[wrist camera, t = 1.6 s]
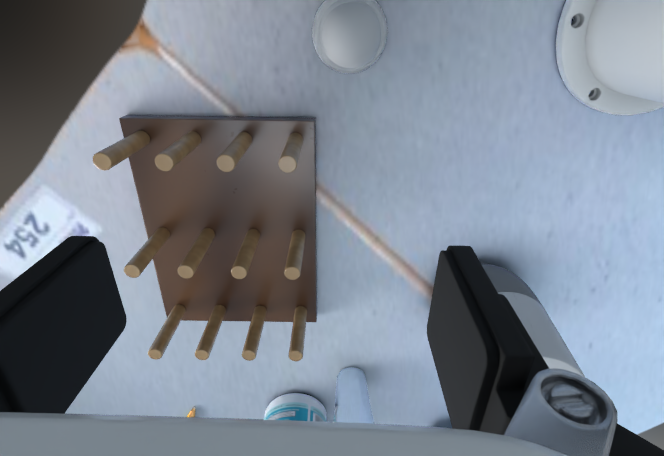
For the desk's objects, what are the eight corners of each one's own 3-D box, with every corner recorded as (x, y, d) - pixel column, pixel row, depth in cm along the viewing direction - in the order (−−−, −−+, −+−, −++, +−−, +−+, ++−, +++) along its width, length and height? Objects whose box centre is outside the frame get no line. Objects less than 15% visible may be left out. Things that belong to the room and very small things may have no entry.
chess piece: (313, 73, 29) (305, 91, 21) (310, -10, 27) (300, -25, 19) (384, 72, 29) (403, 90, 21) (388, -11, 27) (411, -27, 19)
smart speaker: (515, 242, 36) (611, 356, 23) (524, 316, 40) (611, 447, 27) (415, 268, 37) (455, 390, 25) (433, 337, 41) (477, 471, 29)
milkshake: (326, 360, 43) (324, 447, 34) (373, 363, 43) (384, 451, 34) (322, 388, 45) (320, 477, 36) (368, 391, 45) (376, 480, 36)
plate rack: (315, 117, 31) (310, 141, 24) (316, 314, 40) (313, 369, 34) (126, 115, 31) (71, 138, 24) (171, 312, 40) (140, 367, 34)
